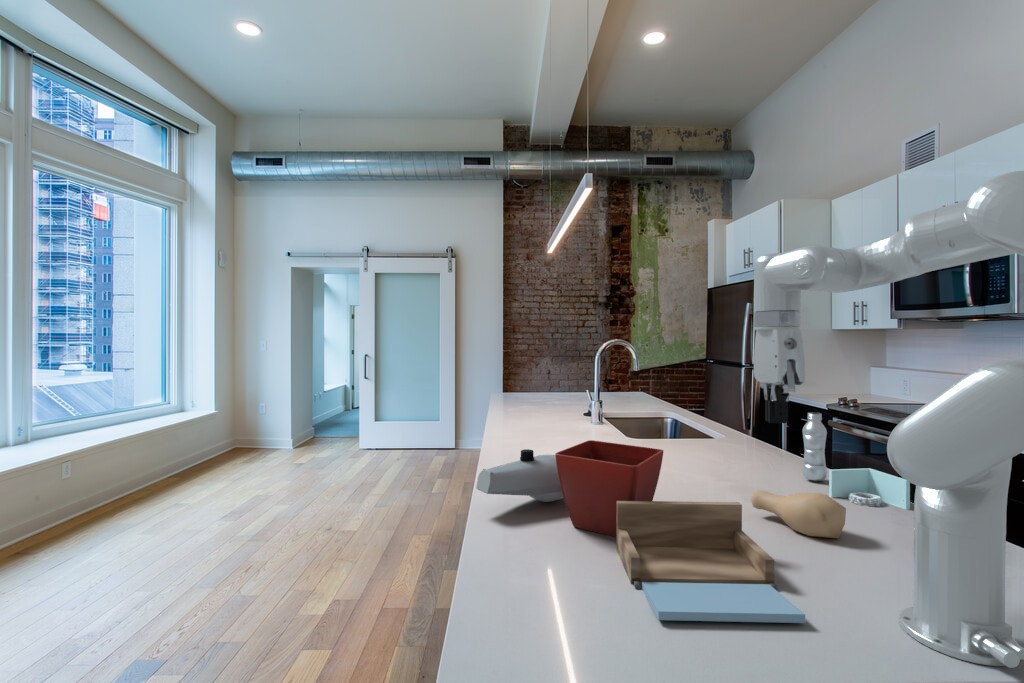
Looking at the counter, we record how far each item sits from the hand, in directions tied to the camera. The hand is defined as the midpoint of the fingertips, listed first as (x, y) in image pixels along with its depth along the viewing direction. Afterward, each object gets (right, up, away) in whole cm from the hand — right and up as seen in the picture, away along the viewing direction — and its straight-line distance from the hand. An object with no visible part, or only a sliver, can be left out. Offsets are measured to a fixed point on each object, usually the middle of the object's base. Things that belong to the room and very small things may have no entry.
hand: (776, 422), depth 92 cm
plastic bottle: (+42, -27, +59) cm, 77 cm away
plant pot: (-26, -27, +22) cm, 44 cm away
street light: (-43, -27, +36) cm, 63 cm away
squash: (+15, -27, +20) cm, 37 cm away
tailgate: (-16, -27, -8) cm, 32 cm away
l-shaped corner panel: (+44, -27, +38) cm, 64 cm away
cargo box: (-16, -27, +1) cm, 31 cm away
